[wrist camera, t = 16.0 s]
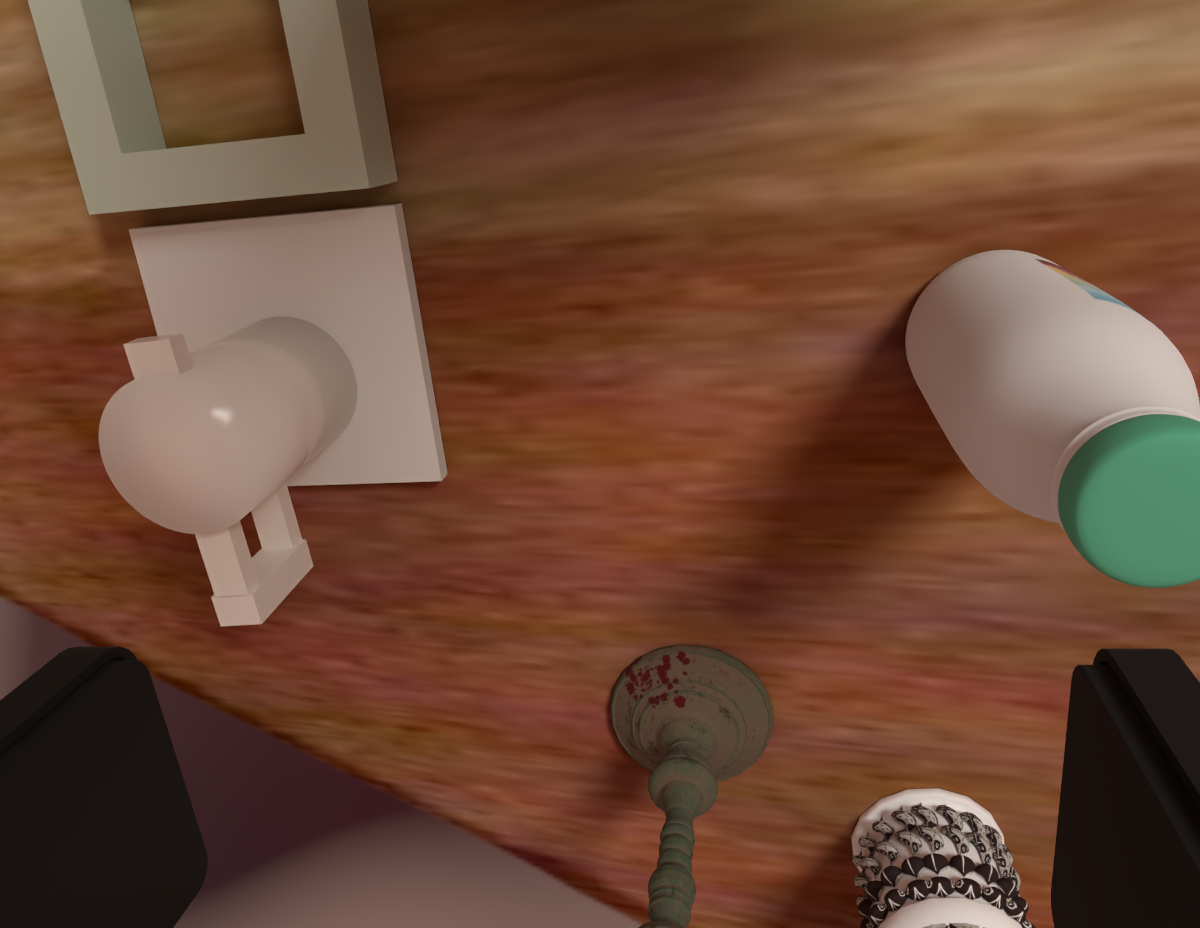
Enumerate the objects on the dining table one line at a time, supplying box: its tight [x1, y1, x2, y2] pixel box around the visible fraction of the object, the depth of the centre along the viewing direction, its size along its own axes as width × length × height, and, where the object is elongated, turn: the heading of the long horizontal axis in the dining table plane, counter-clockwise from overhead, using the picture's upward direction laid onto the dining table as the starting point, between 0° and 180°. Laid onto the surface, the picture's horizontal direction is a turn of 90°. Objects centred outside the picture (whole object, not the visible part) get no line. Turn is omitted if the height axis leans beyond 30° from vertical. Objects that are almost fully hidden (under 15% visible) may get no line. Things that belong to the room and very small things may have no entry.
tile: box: [128, 203, 448, 486], centre depth 48 cm, size 14×14×1 cm
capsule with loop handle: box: [99, 316, 358, 626], centre depth 43 cm, size 13×7×10 cm, turn 8°
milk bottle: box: [905, 250, 1200, 588], centre depth 33 cm, size 8×8×20 cm
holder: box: [28, 0, 398, 215], centre depth 41 cm, size 14×14×4 cm
